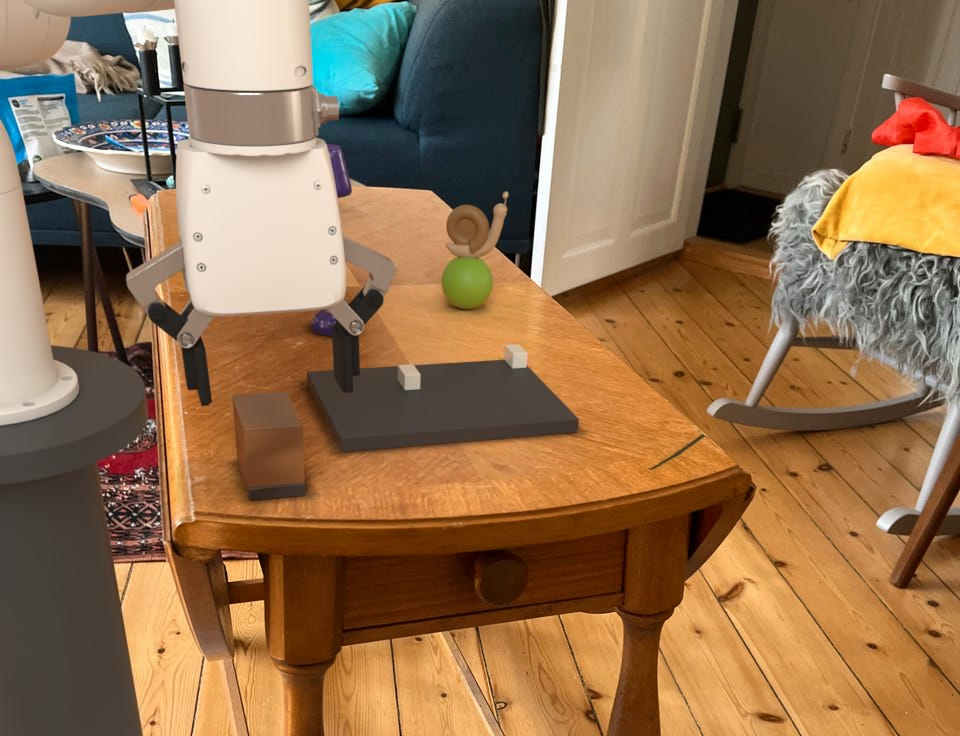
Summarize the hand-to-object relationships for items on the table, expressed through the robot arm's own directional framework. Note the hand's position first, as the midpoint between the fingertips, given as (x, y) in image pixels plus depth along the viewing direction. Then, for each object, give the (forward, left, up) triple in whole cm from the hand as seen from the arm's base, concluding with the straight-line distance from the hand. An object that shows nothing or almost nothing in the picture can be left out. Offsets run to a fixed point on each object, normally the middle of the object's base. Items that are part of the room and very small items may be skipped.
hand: (275, 392), depth 71 cm
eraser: (-1, +1, -7) cm, 7 cm away
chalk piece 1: (+13, +14, -6) cm, 20 cm away
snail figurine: (+26, +36, -7) cm, 45 cm away
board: (+15, +11, -7) cm, 20 cm away
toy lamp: (+10, +32, -7) cm, 34 cm away
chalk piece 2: (+24, +17, -6) cm, 30 cm away
